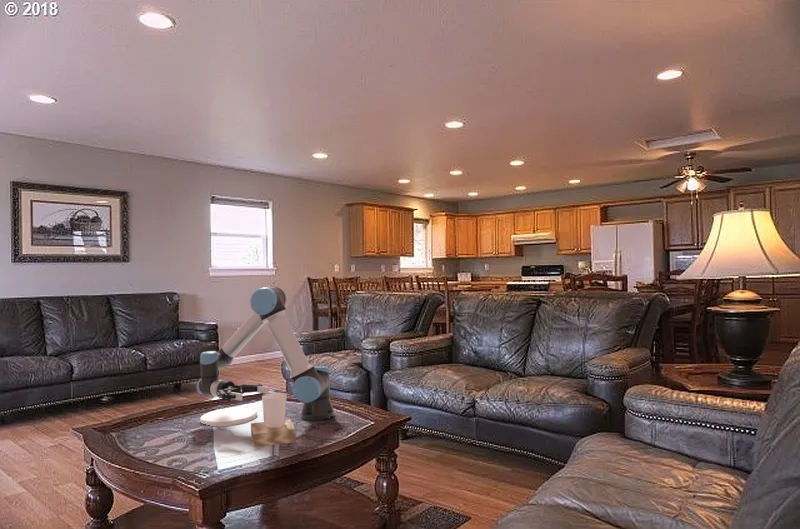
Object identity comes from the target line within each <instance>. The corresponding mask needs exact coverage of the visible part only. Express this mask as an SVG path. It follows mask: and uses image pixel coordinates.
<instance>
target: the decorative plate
mask: <svg viewBox="0 0 800 529" xmlns="http://www.w3.org/2000/svg"><path fill="white" fill-rule="evenodd" d="M257 417H258V410H257V409H251V408H246V407H238V406H237V407H235V406H232V407H226V408H221V409H216V410H212V411H209V412H207V413H204V414H203V415H201V417H200V418H199V423H200V422H201V423H203V424H206V425H205V426H208V425H210V426H209V427H229V426H237V425H240V424H244V423H248V422H252V421H253V420H255V419H256V418H257ZM201 423H200V424H201ZM203 424H202V425H203Z"/></svg>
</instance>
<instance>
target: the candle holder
mask: <svg viewBox="0 0 800 529" xmlns="http://www.w3.org/2000/svg"><path fill="white" fill-rule="evenodd" d="M287 396H288V395H287V393H284V392H269V394H263V395H262V396H261V399H262V400H261V401H262V414H263V422H264V426H265V427H268V428H277V427H282V426H284V425H285V421H286V420H287V417H286V416H287Z"/></svg>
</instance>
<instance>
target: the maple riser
mask: <svg viewBox="0 0 800 529" xmlns="http://www.w3.org/2000/svg"><path fill="white" fill-rule="evenodd" d="M296 430H297V429H296V428H295V426H294V424H293V421H292V420H291V419H289V418H287V419H286V421H285V425H284V426H282V427H277V428H268V427H265V426H264V421H261V422H251V423H250V437H251V442H252V445H253V448H257V447H266V446H272V445H273V446H274V445H282V444H283V445H284V444H291V443H297V438H296V437H297V431H296Z"/></svg>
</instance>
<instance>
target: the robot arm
mask: <svg viewBox="0 0 800 529" xmlns="http://www.w3.org/2000/svg"><path fill="white" fill-rule="evenodd" d="M249 301H250V302H249V303H250V307H251V309H252V311H253V312H252V313H251V314H250V315H249V317H247V319H246V320H245V321H244V322H243V323H242V324H241V326H240V327H239V328H238V329H236V331H235V332H234V333H233V334H232V335H231V336H230V338H228V340H227V341H226V342H225V343H224V344H223V345H222V347H221V348H220V349H219V350H217V351H216V350H207V351H203V352H201V353H200V355H199V356H200V359H199V365H200V366H199V367H200V379H198V381H197V384H196V387H195V388H196V391H197V393H199V394H200V395H202V396H206V397H216V398H218V399H221V400H222V401H225V400H227V402H231V400H235V401H240V402H242V401H243V394H245V393H260V394H263V395H265V394H269V393H270V390H269V389H270V388H269V386H263V384H261V383H258V384H243V383H242V384H241V385H237V384H235V382H233V381H232V380H225V379H220V378H219V376H220V374H219V371H220V370H221V369H224V368H227V367H228V366H230V365H231V364H233V360H234V358H235V357H236V356H237V355H238V354H239V353H240V351H241V350H242V349H244V347H245V346H246V345H247V344H248V343H249V342H250V341H251V340H252V339H253V337H254V336H255V335H256V334H257V333H258V332H259V331H260V330H261V329H262V327H263V326H264V325H265V324H267V326H268V328H269V330H270V333H271V335H272V336H273V339H274V341H275V342H276V345H277V347H278V348H279V351H280V353H281V355H282V358H283V359H284V362H285V363H286V365H287V368H288V370H289V372H290V376H289V380H290V382H291V384H292V394H293V396H294V397H295V399H297V401H299V402H302V403H303V405H302V407H301V412H300V418H301V419H302V420H304V421H305V420H306V421H313V420H315V421H323V420H322V419H325V420H327V419H326V418H329V417H331V416H333V415H334V416H335V411H334V410H335V409H334V406H333V404H332V402H331V398H330V397H331V392H330V391H331V390H330V388H331V387H330V385H331V384H330V382H331V381H330V380H331V378H330V376H331V372H330V368H329V367H328V366H315V365H314V364H311V363H309V361H308V359H307V356H306V355H305V353H304V351H303V348H302V346H301V344H300V342H299V340H298V339H297V336H296V334H295V332H294V330H293V328H292V326H291V323H290V322H289V320H288V317H287V316H286V314H287V307H286V306H285V305H286V303H287V296H286V293H285V291H284V290H282V289H281V288H280V287H278V286H263V287H260V288H257V290H255V291H254V292H253V293H252V294H251V297H250V300H249ZM334 416H333V417H334ZM329 419H330V418H329Z"/></svg>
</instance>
